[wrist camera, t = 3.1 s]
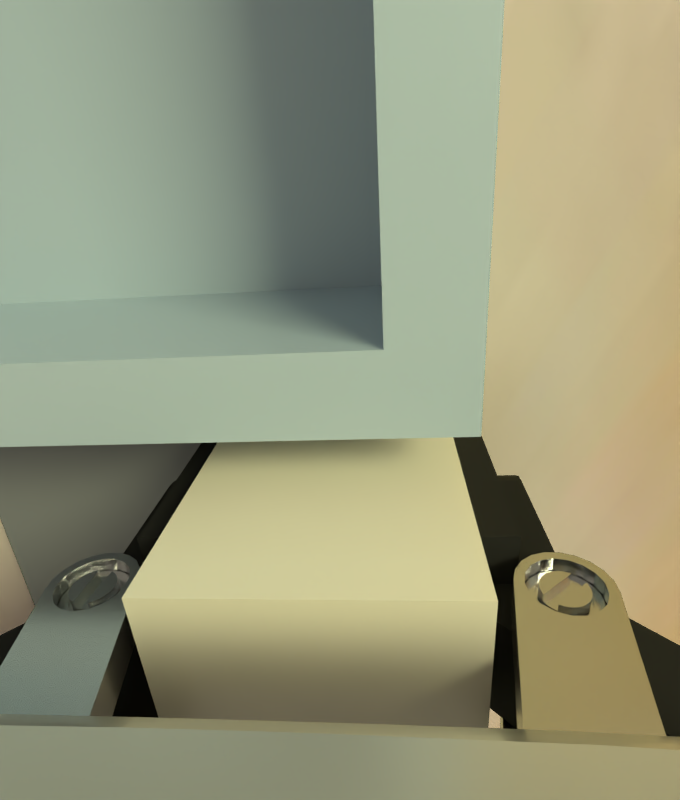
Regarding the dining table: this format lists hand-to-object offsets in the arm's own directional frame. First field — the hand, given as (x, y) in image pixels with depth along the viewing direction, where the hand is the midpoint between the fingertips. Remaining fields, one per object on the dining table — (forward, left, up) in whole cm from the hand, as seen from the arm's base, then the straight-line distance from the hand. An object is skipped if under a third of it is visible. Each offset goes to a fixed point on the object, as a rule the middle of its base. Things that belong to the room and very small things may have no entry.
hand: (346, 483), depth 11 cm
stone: (0, 0, -1) cm, 1 cm away
